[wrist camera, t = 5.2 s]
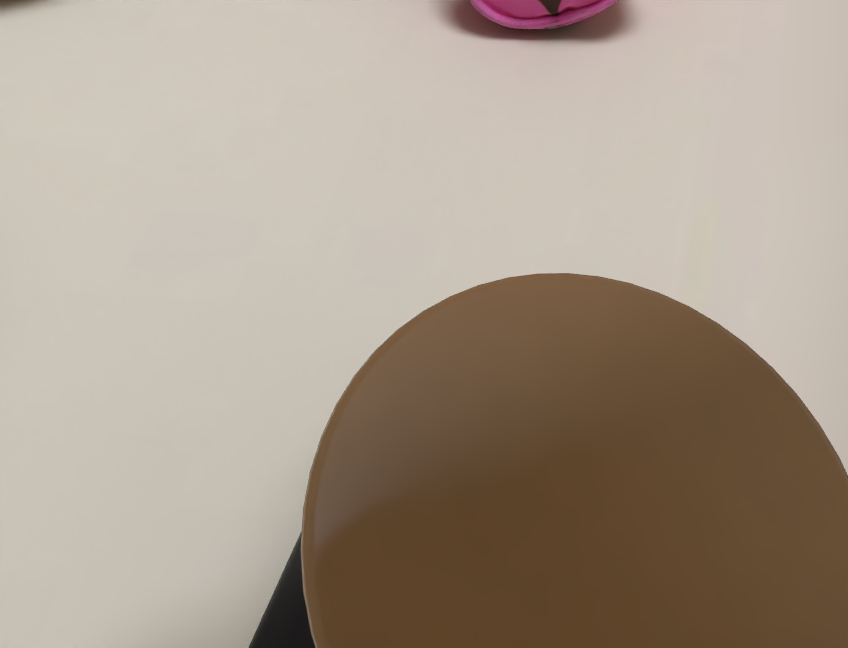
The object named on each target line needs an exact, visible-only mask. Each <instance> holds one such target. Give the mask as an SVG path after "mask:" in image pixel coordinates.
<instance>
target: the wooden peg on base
mask: <svg viewBox="0 0 848 648" xmlns="http://www.w3.org/2000/svg"><path fill="white" fill-rule="evenodd" d="M301 562H302V578H303V592H304V598H305V603H306V608H307V614H308V619H309V625H310V630H311V635H312V638H313V641H314V644H315V648H848V475H847V473H846V471H845V469H844V467H843V464H842V462H841V460H840V458H839V456H838V455H837V453H836V451H835V450H834V448H833V446H832V445H831V443H830V441H829V440H828V438H827V436H826V435H825V433H824V431H823V429H822V428H821V426H820V425H819V423H818V422H817V420H816V419H815V418H814V416H813V415H812V414H811V412H810V411H809V410H808V408H807V407H806V406H805V404H804V403H803V402H802V400H801V399H800V398H799V396H798V395H797V394H796V393H795V392H794V390H793V389H792V388H791V387H790V386H789V385H788V384H787V383H786V382H785V381H784V380H783V378H782V377H781V376H780V375H779V374H778V373H777V372H776V371H775V370H774V369H773V368H772V367H771V366H770V365H769V364H768V363H767V362H766V361H765V360H764V359H762V358H761V357H760V356H759V355H758V354H757V353H756V352H755V351H753V350H752V349H751V348H750V347H749V346H748V345H747V344H746V343H744V342H743V341H741V340H740V339H739V338H737V337H736V336H735V335H733V334H732V333H730V332H729V331H728V330H726V329H725V328H724V327H722V326H721V325H720V324H718V323H716V322H715V321H713V320H711V319H710V318H708V317H706V316H704V315H703V314H701V313H699V312H698V311H696V310H694V309H692V308H691V307H689V306H687V305H685V304H682V303H680V302H678V301H676V300H674V299H671V298H669V297H667V296H665V295H663V294H660V293H658V292H655V291H652V290H649V289H646V288H643V287H640V286H637V285H634V284H631V283H627V282H622V281H617V280H613V279H608V278H603V277H599V276H589V275H579V274H569V273H558V274H532V275H525V276H517V277H509V278H505V279H501V280H497V281H493V282H489V283H485V284H481V285H478V286H476V287H473V288H471V289H468V290H465V291H463V292H460V293H458V294H455V295H453V296H450V297H448V298H446V299H445V300H443V301H441V302H439V303H437V304H435V305H434V306H432V307H430V308H428V309H426V310H424V311H423V312H421V313H420V314H418V315H417V316H416V317H414V318H413V319H411V320H410V321H409V322H407V323H406V324H405V325H403V326H402V327H400V328H399V329H398V330H397V331H395V332H394V333H393V334H392V335H391V336H390V337H389V338H388V339H387V340H386V341H385V342H384V343H383V344H382V345H381V346H380V347H378V348H377V349H376V350H375V351H374V352H373V354H372V355H371V356H370V357H369V358H368V360H367V361H366V362H365V363H364V365H363V366H362V367H361V368H360V369H359V371H358V372H357V373H356V374H355V376H354V377H353V378H352V380H351V382H350V383H349V385H348V386H347V388H346V390H345V391H344V393H343V394H342V396H341V398H340V399H339V401H338V402H337V404H336V406H335V408H334V410H333V412H332V414H331V417H330V419H329V421H328V423H327V425H326V427H325V430H324V432H323V434H322V436H321V439H320V442H319V445H318V448H317V451H316V455H315V458H314V461H313V464H312V467H311V470H310V475H309V480H308V486H307V491H306V496H305V502H304V507H303V519H302V536H301Z"/></svg>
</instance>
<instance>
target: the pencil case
mask: <svg viewBox="0 0 848 648" xmlns="http://www.w3.org/2000/svg"><path fill="white" fill-rule="evenodd" d="M469 1H470V2H471V4H472V5H473V6H474V8H475V9H477V10H478V11H479V12H480V13H481V14H482V15H483V16H484V17H486V18H488V19H490V20H491V21H493V22H495V23H497V24H500V25H503V26H506V27H509V28H518V29H555V28H560V27H563V26H566V25H569V24H572V23H575V22H578V21H581V20H584V19H586V18H589V17H591V16H593V15H595V14H597V13H599V12H601V11H603V10H604V9H606V8H608V7H609V6H611V5H612V4H614V3H615V2H616V1H618V0H469Z"/></svg>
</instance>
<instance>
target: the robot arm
mask: <svg viewBox="0 0 848 648" xmlns="http://www.w3.org/2000/svg"><path fill="white" fill-rule="evenodd" d="M301 536H302V531H301V534H300V536H299V538H298V540H297V542H296V545H295V547H294V549H293V551H292V553H291V556H290V558H289V560H288V562H287V564H286V567H285V569H284V571H283V573H282V575H281V578H280V580H279V582H278V584H277V586H276V589H275V591H274V593H273V595H272V597H271V599H270V602H269V604H268V606H267V608H266V610H265V613H264V615H263V617H262V619H261V621H260V624H259V626H258V628H257V630H256V632H255V635H254V637H253V639H252V641H251V643H250V646H249V648H315V644H314V641H313V638H312V635H311V630H310V625H309V619H308V614H307V608H306V603H305V598H304V592H303V578H302V562H301Z"/></svg>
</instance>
